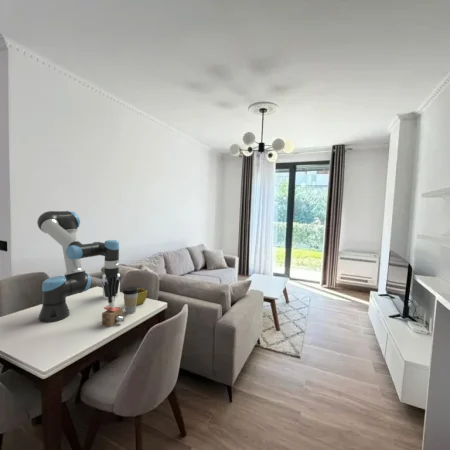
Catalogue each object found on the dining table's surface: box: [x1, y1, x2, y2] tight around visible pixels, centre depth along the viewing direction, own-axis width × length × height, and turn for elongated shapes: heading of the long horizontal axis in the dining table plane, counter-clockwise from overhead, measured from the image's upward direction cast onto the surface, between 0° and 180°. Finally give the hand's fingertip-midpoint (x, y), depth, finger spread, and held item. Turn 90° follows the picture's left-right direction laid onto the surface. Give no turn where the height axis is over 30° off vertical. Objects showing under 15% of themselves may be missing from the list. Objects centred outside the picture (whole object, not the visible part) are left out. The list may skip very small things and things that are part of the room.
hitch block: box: [101, 306, 124, 327], centre depth 149 cm, size 6×10×7 cm, turn 164°
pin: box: [115, 316, 125, 323], centre depth 148 cm, size 11×4×4 cm, turn 74°
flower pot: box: [136, 288, 148, 306], centre depth 178 cm, size 9×9×9 cm
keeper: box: [103, 304, 119, 312], centre depth 149 cm, size 7×4×1 cm, turn 74°
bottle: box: [102, 272, 121, 300], centre depth 190 cm, size 12×12×25 cm
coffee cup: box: [122, 286, 139, 315], centre depth 164 cm, size 9×9×15 cm
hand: (111, 307), depth 148 cm, fingers closed
